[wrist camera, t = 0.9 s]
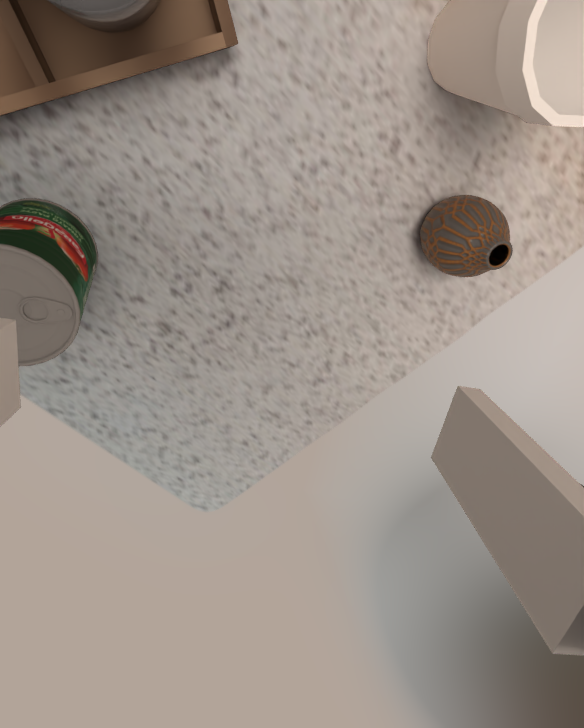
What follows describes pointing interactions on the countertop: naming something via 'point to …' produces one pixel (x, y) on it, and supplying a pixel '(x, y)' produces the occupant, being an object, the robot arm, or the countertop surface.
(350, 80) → the countertop surface
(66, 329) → the canned tomato
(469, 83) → the foam cup
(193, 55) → the wooden divided tray
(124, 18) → the seated cylinder
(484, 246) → the vase
